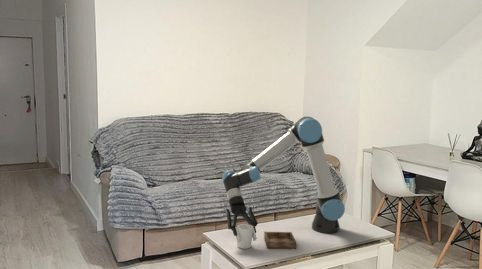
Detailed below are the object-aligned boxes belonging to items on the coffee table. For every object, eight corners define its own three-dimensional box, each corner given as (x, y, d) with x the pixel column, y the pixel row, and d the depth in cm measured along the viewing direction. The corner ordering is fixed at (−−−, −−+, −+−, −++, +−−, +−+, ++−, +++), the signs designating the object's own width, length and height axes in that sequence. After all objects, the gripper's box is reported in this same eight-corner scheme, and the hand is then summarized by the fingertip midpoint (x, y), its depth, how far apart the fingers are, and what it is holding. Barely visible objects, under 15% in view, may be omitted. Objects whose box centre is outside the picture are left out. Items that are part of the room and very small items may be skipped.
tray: (291, 238, 225) (291, 232, 224) (295, 249, 211) (296, 242, 210) (264, 238, 224) (264, 231, 223) (267, 248, 210) (267, 241, 210)
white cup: (239, 250, 207) (240, 229, 206) (233, 244, 214) (234, 224, 213) (254, 248, 210) (255, 228, 209) (248, 242, 217) (248, 223, 216)
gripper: (251, 201, 228) (263, 241, 215) (214, 204, 220) (225, 246, 207) (256, 193, 223) (269, 234, 210) (218, 196, 215) (229, 239, 202)
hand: (247, 240), depth 209 cm, fingers closed on white cup, 8 cm apart
